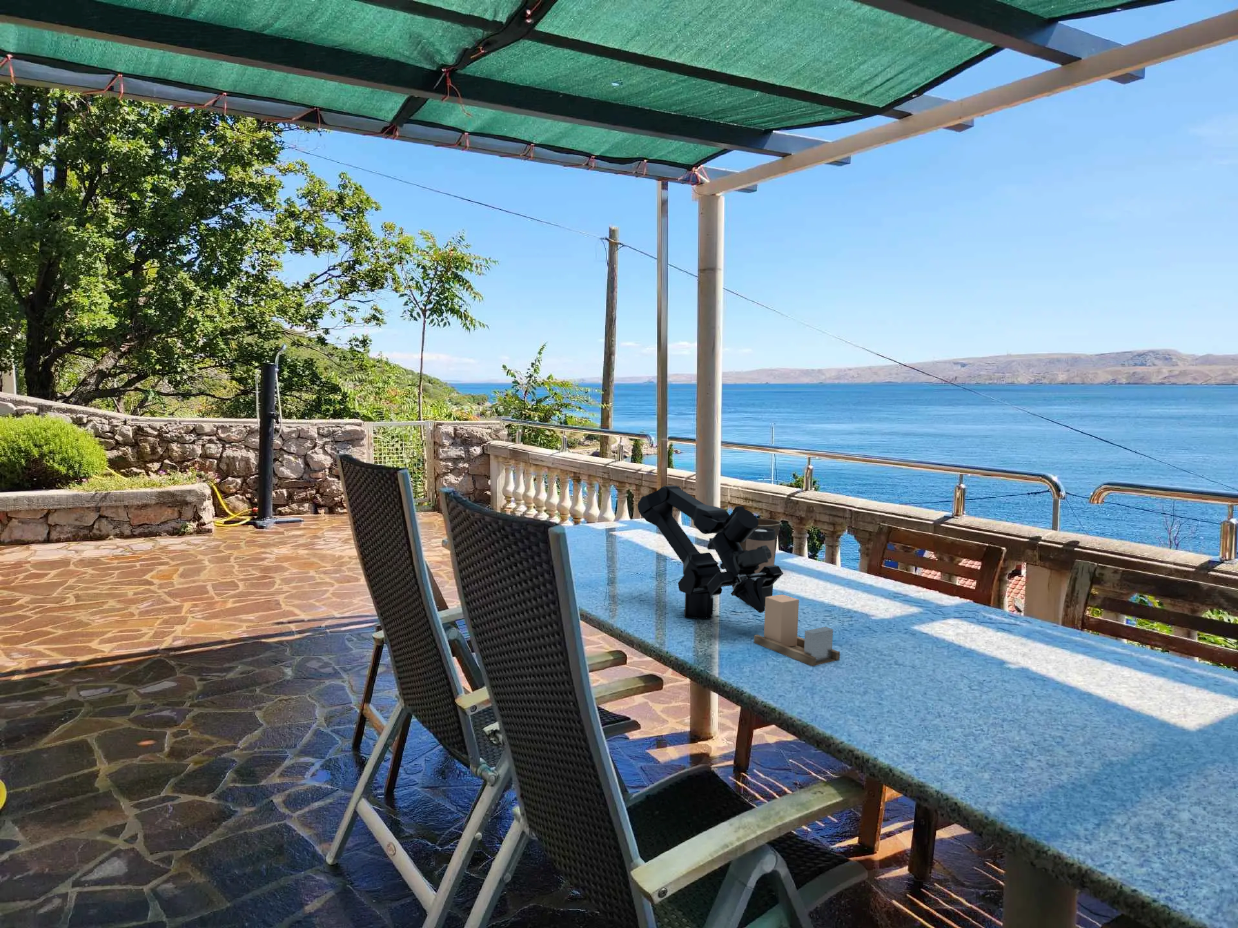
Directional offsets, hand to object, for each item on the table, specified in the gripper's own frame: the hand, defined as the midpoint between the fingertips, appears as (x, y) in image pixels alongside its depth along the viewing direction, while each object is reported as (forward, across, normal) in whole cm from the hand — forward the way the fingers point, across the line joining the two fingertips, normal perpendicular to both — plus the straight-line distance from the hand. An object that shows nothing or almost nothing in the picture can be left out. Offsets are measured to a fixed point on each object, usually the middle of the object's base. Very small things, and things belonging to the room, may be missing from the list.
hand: (762, 611), depth 169 cm
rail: (+12, 0, -3) cm, 12 cm away
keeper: (+8, 0, 0) cm, 8 cm away
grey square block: (+16, 0, -7) cm, 18 cm away
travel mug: (-13, +22, +22) cm, 34 cm away
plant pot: (-34, +48, +44) cm, 74 cm away
